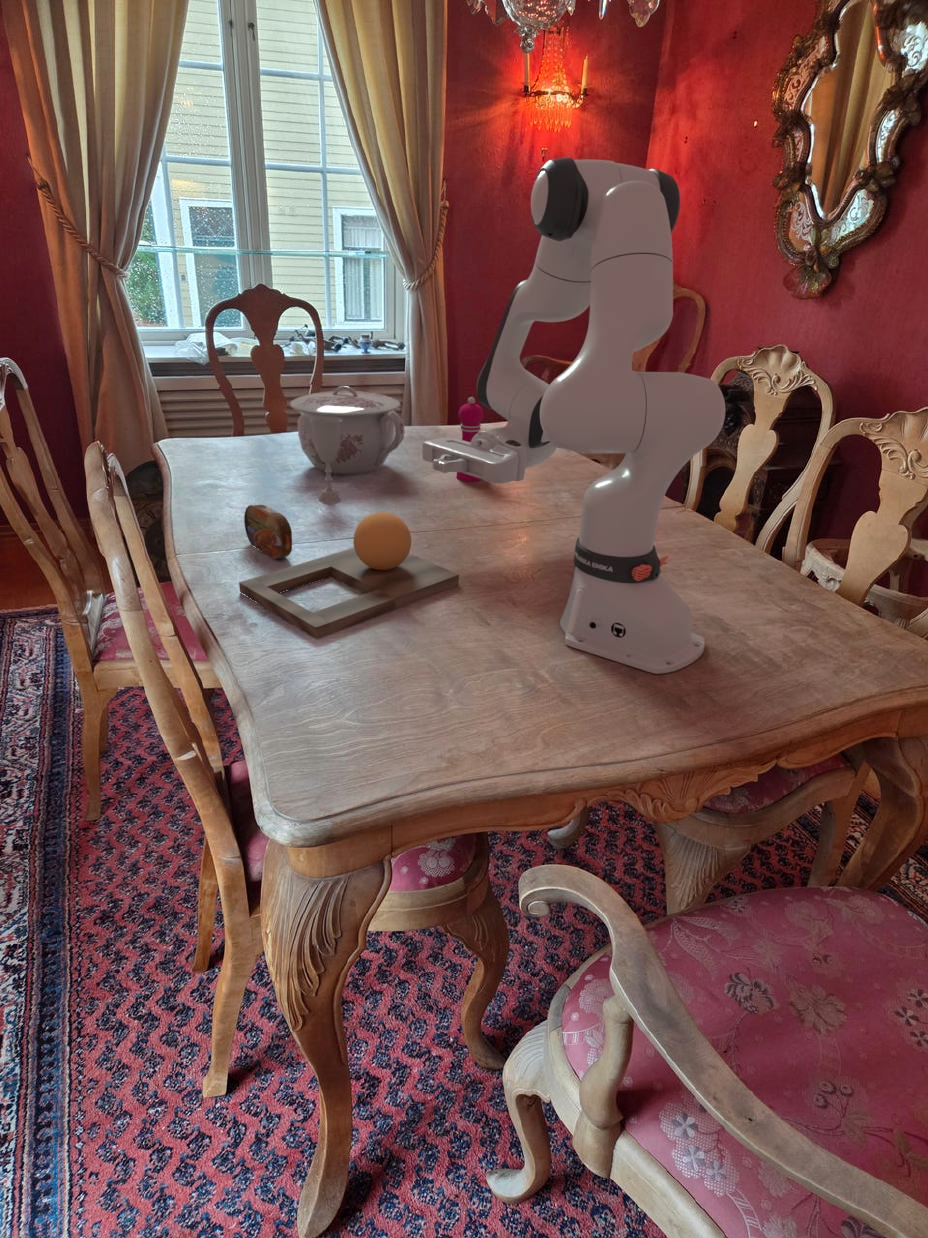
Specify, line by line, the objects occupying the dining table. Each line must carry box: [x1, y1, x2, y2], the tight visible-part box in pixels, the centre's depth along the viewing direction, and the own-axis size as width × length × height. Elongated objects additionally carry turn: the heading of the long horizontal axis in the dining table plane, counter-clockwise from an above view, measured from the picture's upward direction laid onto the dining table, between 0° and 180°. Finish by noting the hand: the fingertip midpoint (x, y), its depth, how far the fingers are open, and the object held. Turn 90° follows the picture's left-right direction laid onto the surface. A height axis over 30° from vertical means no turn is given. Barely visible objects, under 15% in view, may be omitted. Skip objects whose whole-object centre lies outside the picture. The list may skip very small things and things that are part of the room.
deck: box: [238, 547, 460, 640], centre depth 131 cm, size 22×30×2 cm
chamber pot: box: [289, 385, 405, 476], centre depth 193 cm, size 28×28×21 cm
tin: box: [243, 504, 293, 560], centre depth 144 cm, size 15×3×8 cm, turn 40°
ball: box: [353, 511, 412, 570], centre depth 133 cm, size 10×10×10 cm
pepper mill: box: [456, 396, 484, 482], centre depth 188 cm, size 7×7×20 cm
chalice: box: [309, 417, 342, 504], centre depth 170 cm, size 7×7×18 cm
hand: (438, 466), depth 136 cm, fingers closed
